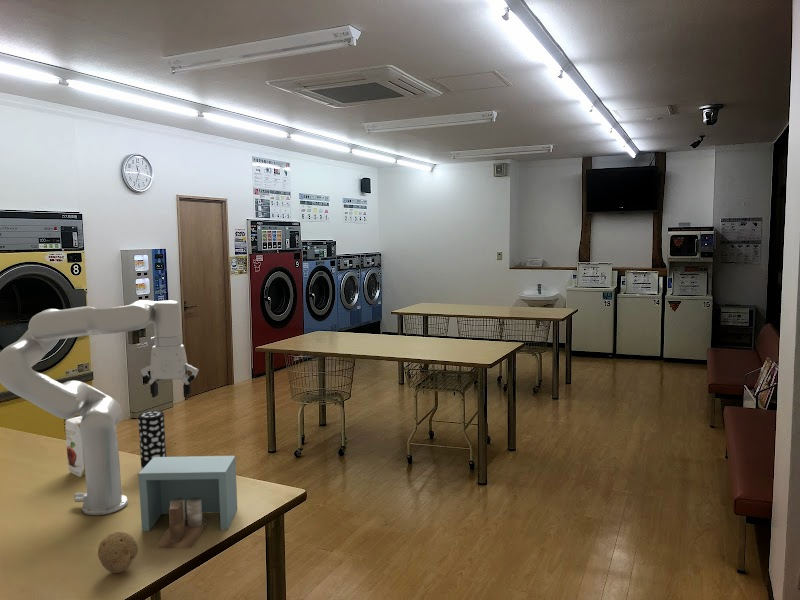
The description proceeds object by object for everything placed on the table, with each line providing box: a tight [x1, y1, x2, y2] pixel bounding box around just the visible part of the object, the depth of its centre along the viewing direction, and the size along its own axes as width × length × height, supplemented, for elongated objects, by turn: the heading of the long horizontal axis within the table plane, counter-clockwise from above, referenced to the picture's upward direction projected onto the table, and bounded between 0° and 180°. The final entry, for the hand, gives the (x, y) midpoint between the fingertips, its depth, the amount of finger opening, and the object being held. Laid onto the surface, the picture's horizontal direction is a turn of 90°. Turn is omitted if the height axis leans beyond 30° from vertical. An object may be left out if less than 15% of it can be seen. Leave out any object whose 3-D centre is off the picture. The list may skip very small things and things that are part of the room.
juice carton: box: [64, 415, 85, 478], centre depth 216 cm, size 8×9×19 cm
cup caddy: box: [157, 498, 208, 550], centre depth 173 cm, size 9×14×11 cm, turn 1°
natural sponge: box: [97, 531, 139, 574], centre depth 156 cm, size 9×9×10 cm
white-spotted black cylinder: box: [137, 410, 167, 471], centre depth 218 cm, size 8×8×20 cm
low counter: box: [138, 455, 238, 532], centre depth 181 cm, size 24×12×17 cm, turn 92°
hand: (170, 396), depth 192 cm, fingers open, 9 cm apart
